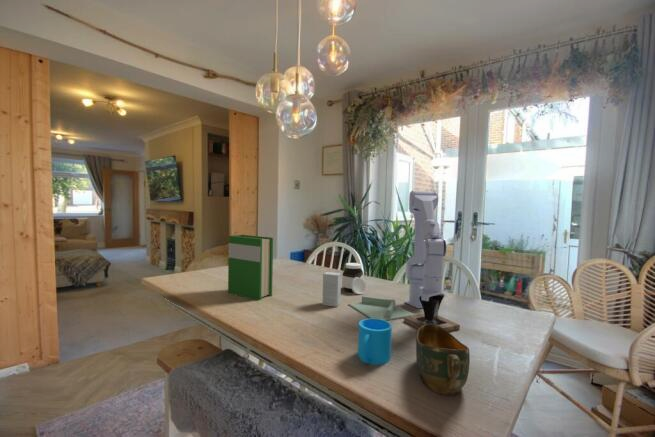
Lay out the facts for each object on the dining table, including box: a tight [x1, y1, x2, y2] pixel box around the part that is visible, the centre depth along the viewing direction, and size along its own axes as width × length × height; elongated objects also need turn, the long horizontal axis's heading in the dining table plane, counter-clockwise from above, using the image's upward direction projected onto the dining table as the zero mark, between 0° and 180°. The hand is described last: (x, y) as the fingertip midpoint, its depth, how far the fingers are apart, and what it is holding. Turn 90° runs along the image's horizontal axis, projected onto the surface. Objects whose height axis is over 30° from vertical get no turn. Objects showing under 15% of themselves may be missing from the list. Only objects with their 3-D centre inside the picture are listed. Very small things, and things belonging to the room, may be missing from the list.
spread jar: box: [341, 262, 367, 295], centre depth 135 cm, size 12×11×12 cm
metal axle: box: [423, 301, 439, 325], centre depth 98 cm, size 4×4×8 cm
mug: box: [357, 318, 393, 366], centre depth 75 cm, size 12×8×8 cm
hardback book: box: [227, 234, 274, 301], centre depth 126 cm, size 18×7×24 cm, turn 60°
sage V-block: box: [348, 295, 416, 322], centre depth 111 cm, size 16×19×3 cm
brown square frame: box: [403, 313, 461, 333], centre depth 98 cm, size 12×12×2 cm
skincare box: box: [322, 271, 342, 308], centre depth 116 cm, size 6×4×12 cm
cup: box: [415, 324, 471, 396], centre depth 67 cm, size 13×20×10 cm, turn 146°
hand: (431, 317), depth 98 cm, fingers closed on metal axle, 4 cm apart
